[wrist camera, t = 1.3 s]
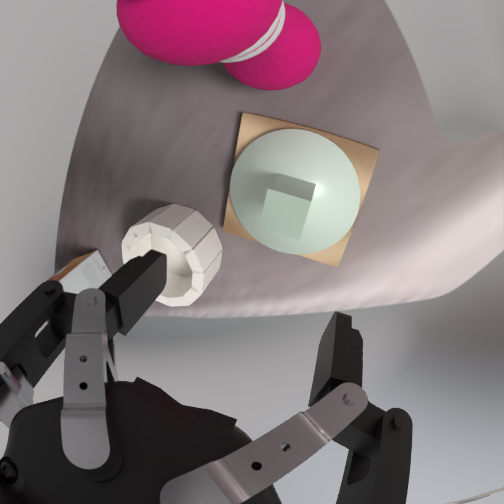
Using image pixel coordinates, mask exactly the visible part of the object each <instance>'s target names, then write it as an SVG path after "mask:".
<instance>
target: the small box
mask: <svg viewBox="0 0 504 504" xmlns="http://www.w3.org/2000/svg"><path fill="white" fill-rule="evenodd" d="M111 276H112V274H111V272H110V270H109V269H108V267H107V265H106V263H105V262H104V260H103V258H102V256H101V255H100V253H99V251H98V250H95V251H93V252H91V253H88V254H85V255H82V256H80V257H77V258H74V259H73V260H72V261H71V262H70V263H68V264H67V265H66V266H64V267H63V268H62V269H61V270H59V271H58V272H57V273H56V274H55V275H53V276H52V277H51V278H50V279H49V280H56V281H59V282H60V283H61V284H62V286H63V289H64V291H65V292H70V293H75V294H78V293H79V292H81V291H82V290H85V289H88V288H96V289H98V288H99V287H100V286H101V285H102V284H103V283H104V282H105V281H106V280H107V279H109V278H110V277H111ZM49 280H47V281H49Z"/></svg>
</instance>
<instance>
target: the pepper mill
mask: <svg viewBox="0 0 504 504" xmlns="http://www.w3.org/2000/svg"><path fill="white" fill-rule="evenodd" d="M117 17H118V21H119V25H120V27H121V29H122V31H123V32H124V34H125V35H126V37H127V39H128V40H129V42H130V43H132V44H133V45H134V46H135V47H136V48H138V49H139V50H140V51H141V52H142V53H144V54H146V55H148V56H150V57H152V58H154V59H157V60H160V61H163V62H167V63H170V64H175V65H182V66H194V65H206V64H214V63H217V62H222V63H223V64H224V66H225V68H226V69H227V70H228V72H229V73H230V74H231V75H232V76H233V77H235V78H236V79H237V80H239V81H240V82H242V83H244V84H247V85H249V86H251V87H253V88H257V89H261V90H281V89H285V88H289V87H292V86H294V85H296V84H298V83H300V82H302V81H304V80H305V79H306V78H307V77H308V76H309V75H310V74H311V73H312V72H313V70H314V68H315V66H316V64H317V63H318V60H319V57H320V51H321V42H320V37H319V34H318V32H317V29H316V27H315V26H314V25H313V23H312V22H311V20H310V19H309V18H308V17H307V16H306V15H305V14H304V13H303V12H302V11H300V10H299V9H297V8H296V7H293V6H291V5H289V4H286V3H284V2H283V0H117Z"/></svg>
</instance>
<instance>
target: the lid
mask: <svg viewBox="0 0 504 504" xmlns="http://www.w3.org/2000/svg"><path fill="white" fill-rule="evenodd" d="M230 196H231V202H232V205H233V208H234V211H235V213H236V216H237V217H238V219H239V221H240V223H241V224H242V225H243V227H244V228H245V229H246V230H247V231H248V232H249V234H250V235H251V236H253V237H254V238H255V239H256V240H257V241H259V242H261V243H262V244H264V245H265V246H267V247H269V248H271V249H274V250H277V251H280V252H284V253H289V254H310V253H315V252H319V251H321V250H324V249H326V248H328V247H330V246H332V245H334V244H335V243H337V242H338V241H339V240H340V239H341V238H343V237H344V236H345V234H346V233H347V232H348V231H349V230H350V228H351V227H352V225H353V223H354V221H355V219H356V217H357V214H358V210H359V206H360V186H359V180H358V177H357V174H356V171H355V169H354V166H353V164H352V162H351V161H350V159H349V158H348V156H347V155H346V154H345V153H344V151H343V150H342V149H341V148H340V147H339V146H338V145H336V144H335V143H334V142H333V141H331V140H330V139H328V138H326V137H325V136H323V135H321V134H318V133H315V132H313V131H309V130H304V129H295V128H290V129H281V130H276V131H273V132H270V133H268V134H265V135H263V136H261V137H260V138H258V139H256V140H255V141H253V142H252V143H251V144H250V145H249V146H248V147H247V148H245V149H244V151H243V152H242V153H241V155H240V156H239V158H238V159H237V161H236V163H235V166H234V168H233V171H232V175H231V180H230Z"/></svg>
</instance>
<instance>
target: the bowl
mask: <svg viewBox="0 0 504 504" xmlns="http://www.w3.org/2000/svg"><path fill="white" fill-rule="evenodd" d="M212 227H213V225H212V224H211V223H210V222H209V221H208V220H206V219H205V218H204V217H203V216H202V215H201V214H200V213H199V212H198V211H197V210H196V211H195V209H192V208H189V207H185V206H182V205H178V204H170V205H167V206H164V207H161V208H158V209H156V210H154V211H153V212H151V213H150V214H149V215H147V216H146V217H144V218H143V219H141V220H140V221H139V222H137V223H136V224H134V225H133V226H132V227H130V229H129V230H128V232H127V234H126V236H125V237H124V239H123V241H122V255H123V262H124V264H125V263H126V262H128V261H129V260H130V259H132V258H135V257H137V256H144V255H145V254H146V253H147V252H148V251H149V250H151V249H153V250H156V251H159V252H161V253H164V254H166V255H167V282H166V285H165V288H164V290H163V291H162V293H161V294H160V295H159V296H158V297H157V299H156V301H158V302H161V303H163V304H165V305H168V306H170V305H171V307H172V306H189V305H190V304H191V303H193V302H194V301H195V300H196V299H197V298H198V297H199V296H200V295H201V294H202V293H203V291H204V290H205V289H206V287H207V286H208V284H209V283H210V281H211V280H212V278H213V277H214V275H215V274H216V273H217V271H218V270H219V268H220V264H221V257H222V251H223V249H222V245H221V243H220V240H219V238H218V235H217V233H216V230H215V228H214V227H213V228H212Z"/></svg>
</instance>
